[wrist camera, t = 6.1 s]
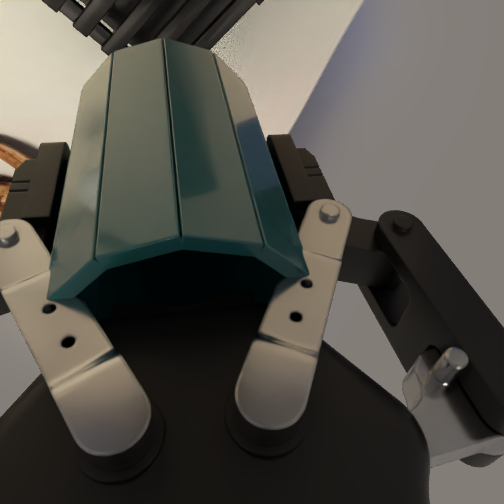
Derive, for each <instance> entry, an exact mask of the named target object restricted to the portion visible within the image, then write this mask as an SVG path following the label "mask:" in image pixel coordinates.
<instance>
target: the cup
mask: <svg viewBox="0 0 504 504" xmlns="http://www.w3.org/2000/svg"><path fill="white" fill-rule="evenodd" d="M49 269H50V280H49V285H48V291H47V297H46V299H47V300H55V299H66V298H74V297H76V296H77V295H78V294H80V296H81V297H82V299H83V300H84V302H85V303H86V305H87V306H88V308H89V310H90V311H91V313H92V314H93V316H94V317H95V319H96V320H97V322H98V321H100V320H102V319H104V318H107V317H110V316H111V305H121V304H131V303H141V302H153V303H162V304H171V305H180V306H186V305H190V304H193V303H196V302H199V301H202V300H205V299H208V298H211V297H215V296H218V295H223V294H233V293H243V292H254V296H255V301H256V302H262V303H266V304H269V301H270V299H271V296H272V293H273V291H274V288H275V286H276V283H277V280H278V278H279V275H280V274H281V275H283V276H284V277H287V278H289V277H300V276H308V275H309V274H310V273H309V270H308V267H307V264H306V261H305V258H304V256H303V246H302V243H301V240H300V237H299V235H298V232H297V229H296V226H295V223H294V220H293V217H292V215H291V212H290V209H289V206H288V203H287V200H286V197H285V195H284V192H283V189H282V186H281V183H280V180H279V177H278V175H277V172H276V169H275V166H274V163H273V160H272V157H271V155H270V152H269V149H268V146H267V143H266V140H265V137H264V135H263V132H262V129H261V126H260V123H259V120H258V117H257V115H256V112H255V109H254V106H253V103H252V100H251V97H250V95H249V92H248V89H247V87H246V85H245V83H244V82H243V81H242V80H241V79H240V78H239V77H238V76H237V75H236V74H235V73H234V72H233V71H232V70H231V69H230V68H229V67H228V66H227V65H226V64H225V63H224V62H223V61H222V60H221V58H220V57H219V56H218V55H217V54H216V53H212V51H211V50H207V49H203V48H200V47H196V46H192V45H188V44H185V43H181V42H177V41H174V40H170V39H166V38H164V39H163V40H162V38H160V39H156V40H152V41H149V42H145V43H142V44H138V45H135V46H131V47H127V48H124V49H120V50H117V51H114V54H113V53H111V54H110V55H109V56H108V58H107V59H106V60H105V61H104V62H103V63H102V65H101V66H100V67H99V68H98V69H97V70H96V72H95V73H94V74H93V75H92V76H91V78H90V79H89V80H88V81H87V82H86V83H85V85H84V86H83V89H82V91H81V96H80V102H79V107H78V113H77V118H76V123H75V129H74V134H73V140H72V145H71V150H70V156H69V161H68V167H67V172H66V177H65V183H64V188H63V194H62V199H61V204H60V210H59V215H58V221H57V226H56V231H55V237H54V242H53V248H52V253H51V258H50V264H49Z"/></svg>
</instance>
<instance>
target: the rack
mask: <svg viewBox="0 0 504 504" xmlns="http://www.w3.org/2000/svg"><path fill="white" fill-rule="evenodd" d="M42 1H43V2H44V3H45V4H47V5H48V6H49V7H50V8H51V9H53V10H54V11H55V12H58V11H60V12H62V13H63V14H64V15H65V16H66V17H68V18H69V19H70V20H71V21H72V22H73V27H74V28H76V29H77V30H78V31H79V32H80V33H82V34H83V35H84V36H85V37H88V35H89V36H90V37H92V38H93V39H94V40H95V41H96V42H98V43H99V44H100V45H101V50H102V51H103V52H104V53H106V54H107V55H108V56H109V55H110V54H111V53H113V54H114V51H117V50H120V49H124V48H127V47H128V46H127V44H128V43H129V44H130V45H131V46H135V45H138V44H142V43H145V42H149V41H152V40H156V39H160V38H162V40H163V39H164V38H166V39H170V40H174V41H177V42H181V43H185V44H188V45H192V46H196V47H200V48H203V49H207V50H210V49H211V48H212V47H213V46H214V45H215V44H216V43H217V42H218V41H219V40H220V39H221V38H222V37H223V36H224V35H225V34H226V33H227V32H228V31H229V30H230V29H231V28H232V27H233V25H234V24H235V23H236V22H237V21H238V20H239V19H240V18H241V17H242V16H243V15H244V14H245V13H246V12H247V11H248V10H249V9H250V8H251V7H252V6H253V5H254V4H255V3H257V4H258V5H260V4H261V3H262V2H263V1H264V0H80V1H82V2H83V3H84V4H85V5H86V7H85V8H84V7H83V6H82V5H80V4H79V3H78V2H77V1H76V0H42ZM101 19H102V20H103V21H104V22H105V23H107V24H108V25H109V26H110V27H111V28H112V29H113V30H114V31H113V32H111V31H110V30H109V29H108V28H107V27H106V26H104V25H103V24H102V23H101V22H100V20H101Z"/></svg>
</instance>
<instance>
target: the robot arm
mask: <svg viewBox="0 0 504 504" xmlns="http://www.w3.org/2000/svg"><path fill="white" fill-rule="evenodd" d="M266 143H267V146H268V149H269V152H270V155H271V157H272V160H273V163H274V166H275V169H276V172H277V175H278V177H279V180H280V183H281V186H282V189H283V192H284V195H285V197H286V200H287V203H288V206H289V209H290V212H291V215H292V217H293V220H294V223H295V226H296V229H297V232H298V235H299V237H300V240H301V243H302V246H303V256H304V258H305V261H306V264H307V267H308V270H309V273H310V274H309V275H308V276H300V277H289V278H287V277H284V276H283V275H281V274H280V275H279V278H278V280H277V283H276V286H275V288H274V291H273V293H272V296H271V299H270V301H269V304H266V303H262V302H256V301H255V296H254V292H243V293H233V294H223V295H218V296H215V297H211V298H208V299H205V300H202V301H199V302H196V303H193V304H190V305H186V306H180V305H171V304H162V303H153V302H141V303H131V304H121V305H111V316H110V317H107V318H104V319H102V320H100V321H98V322H97V320H96V319H95V317H94V316H93V314H92V313H91V311H90V310H89V308H88V306H87V305H86V303H85V302H84V300H83V299H82V297H81V296H80V294H78V295H77V296H76V297H74V298H66V299H55V300H47V299H46V297H47V291H48V285H49V280H50V269H49V264H50V258H51V253H52V248H53V242H54V237H55V231H56V226H57V221H58V215H59V210H60V204H61V199H62V194H63V188H64V183H65V177H66V172H67V167H68V161H69V156H70V149H69V146H68V144H67V143H66V142H56V143H41V144H40V147H39V151H38V154H37V158H36V159H33V160H25V161H24V162H23V163H22V164H21V165H20V166H19V167H18V168H17V169H16V170H15V172H14V175H13V178H12V183H11V185H10V188H9V193H8V194H7V197H6V200H5V204H4V207H3V210H2V213H1V216H0V315H3V314H6V313H9V312H11V313H12V315H13V317H14V319H15V321H16V323H17V325H18V327H19V329H20V331H21V333H22V335H23V337H24V339H25V341H26V343H27V345H28V347H29V349H30V351H31V353H32V355H33V357H34V359H35V361H36V363H37V365H38V367H39V369H40V371H41V374H40V375H39V376H38V377H37V378H36V379H35V381H34V382H33V383H32V384H31V385H30V386H29V387H28V388H27V389H26V390H25V391H24V392H23V394H22V395H21V396H20V397H19V398H18V399H17V400H16V401H15V402H14V403H13V405H11V407H10V408H9V409H8V410H7V411H6V412H5V413H4V414H3V415H2V416H1V417H0V504H430V501H429V474H430V468H432V467H435V466H439V465H442V464H445V463H448V462H452V461H455V460H458V459H459V460H461V461H462V462H464V463H465V464H468V465H470V466H473V467H485V466H488V465H490V464H491V463H493V462H494V461H495V460H497V459H498V458H500V457H501V456H502V455H504V327H503V326H502V325H501V324H500V322H499V321H498V320H497V318H496V317H495V316H494V315H493V313H492V312H491V311H490V309H489V308H488V307H487V306H486V305H485V303H484V302H483V300H482V299H481V298H480V297H479V295H478V294H477V293H476V292H475V290H474V289H473V288H472V286H471V285H470V284H469V283H468V281H467V280H466V279H465V278H464V276H463V275H462V273H461V272H460V271H459V270H458V268H457V267H456V266H455V264H454V263H453V262H452V261H451V259H450V258H449V257H448V256H447V254H446V253H445V252H444V250H443V249H442V248H441V247H440V245H439V244H438V243H437V242H436V240H435V239H434V238H433V237H432V235H431V234H430V232H429V231H428V230H427V229H426V227H425V226H424V225H423V223H422V222H421V221H420V220H419V219H418V218H416V217H415V216H414V215H412V214H410V213H407V212H404V211H399V210H393V211H387V212H385V213H383V214H382V215H381V216H380V218H379V221H378V222H377V221H372V220H365V219H360V218H356V217H353V216H352V214H351V211H350V210H349V209H348V208H347V207H346V206H345V205H344V204H342V203H340V202H338V201H335V199H334V197H333V195H332V193H331V191H330V189H329V187H328V185H327V182H326V180H325V178H324V176H323V174H322V172H321V169H320V168H319V165H318V163H317V161H316V159H315V157H314V156H313V155H312V154H311V153H310V152H309V151H307V150H306V149H305V148H297V149H296V147H295V145H294V142H293V140H292V138H291V136H290V134H281V135H268V137H267V141H266ZM337 281H343V282H349V283H354V284H358V286H359V288H360V290H361V292H362V294H363V295H364V297H365V299H366V301H367V302H368V304H369V306H370V308H371V310H372V312H373V313H374V315H375V317H376V319H377V320H378V322H379V324H380V326H381V327H382V330H383V331H384V333H385V335H386V336H387V338H388V340H389V342H390V344H391V346H392V347H393V349H394V351H395V353H396V355H397V356H398V358H399V360H400V362H401V364H402V365H403V367H404V369H405V370H406V372H407V374H406V376H405V377H404V379H403V383H402V390H403V394H404V397H405V399H406V403H407V407H406V406H405V405H404V404H402V403H401V402H400V401H399V400H398V399H397V398H395V397H394V396H392V394H390V393H389V392H388V391H386V390H385V389H384V388H383V387H381V386H380V385H379V384H378V383H376V382H375V381H374V380H373V379H371V378H370V377H369V376H368V375H366V374H365V373H364V372H362V371H361V370H360V369H359V368H358V367H356V366H355V365H354V364H352V363H351V362H350V361H349V360H347V359H346V358H345V357H344V356H342V355H341V354H340V353H339V352H337V351H336V350H335V349H334V348H332V347H331V346H330V345H329V344H327V343H326V342H325V341H324V340H322V339H323V335H324V331H325V327H326V323H327V319H328V315H329V311H330V307H331V303H332V299H333V295H334V291H335V288H336V284H337Z"/></svg>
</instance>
